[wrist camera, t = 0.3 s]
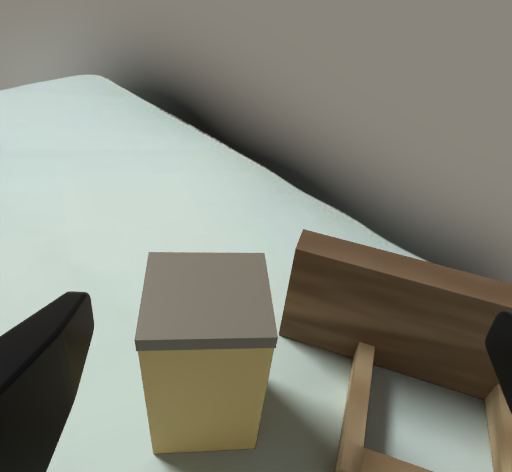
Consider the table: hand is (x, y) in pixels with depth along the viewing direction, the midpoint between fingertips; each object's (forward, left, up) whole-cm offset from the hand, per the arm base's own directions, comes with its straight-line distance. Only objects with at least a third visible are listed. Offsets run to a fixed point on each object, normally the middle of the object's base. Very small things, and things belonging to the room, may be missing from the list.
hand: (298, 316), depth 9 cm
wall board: (+6, -11, -17) cm, 20 cm away
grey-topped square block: (+7, +2, -17) cm, 18 cm away
